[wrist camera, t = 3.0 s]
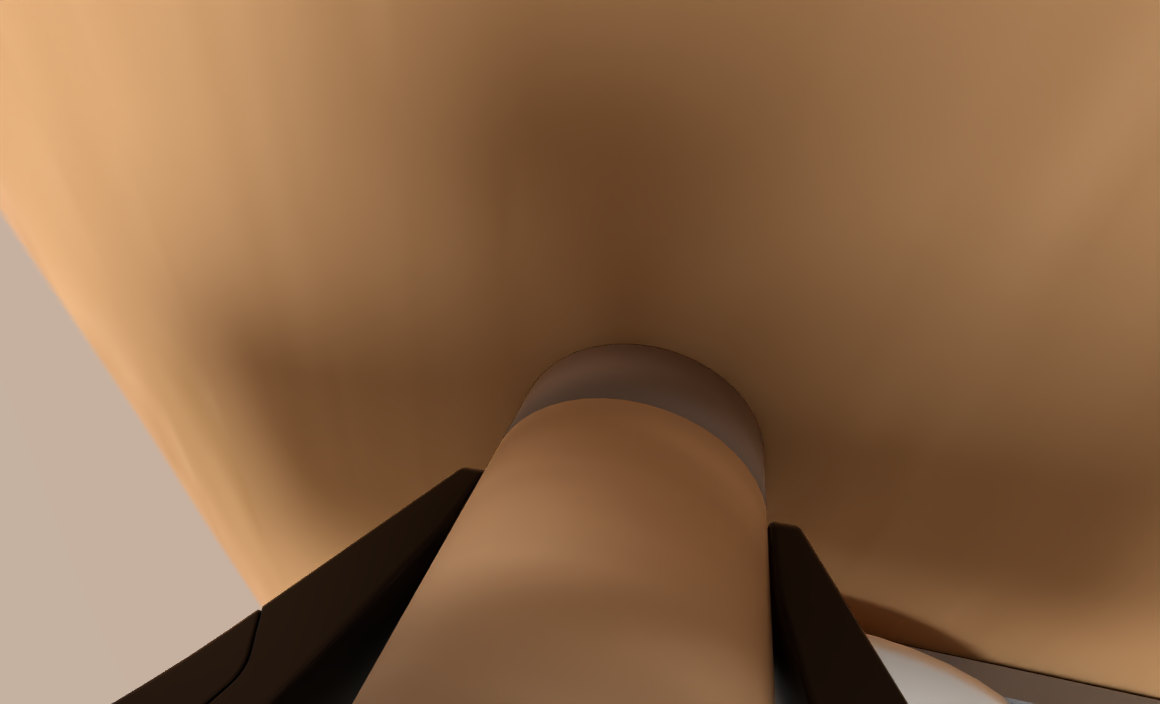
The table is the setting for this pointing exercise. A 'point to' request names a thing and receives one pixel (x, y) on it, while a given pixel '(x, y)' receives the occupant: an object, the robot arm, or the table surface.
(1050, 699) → the board
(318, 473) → the table surface
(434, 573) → the sleeve
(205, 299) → the table surface
